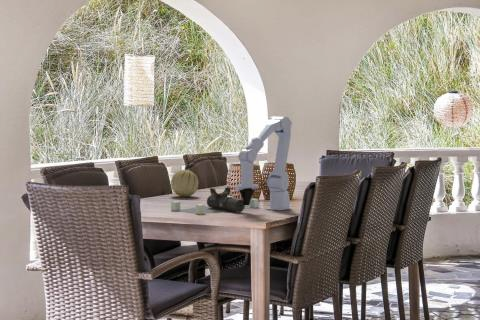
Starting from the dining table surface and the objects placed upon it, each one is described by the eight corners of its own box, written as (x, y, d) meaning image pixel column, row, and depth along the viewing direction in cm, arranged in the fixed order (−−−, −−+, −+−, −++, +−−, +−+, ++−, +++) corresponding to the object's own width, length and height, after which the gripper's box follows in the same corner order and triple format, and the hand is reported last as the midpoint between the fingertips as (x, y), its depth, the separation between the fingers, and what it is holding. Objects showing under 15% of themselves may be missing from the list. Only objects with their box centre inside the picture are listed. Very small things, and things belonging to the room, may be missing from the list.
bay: (229, 204, 410) (229, 195, 410) (258, 207, 397) (258, 199, 397) (171, 210, 380) (171, 201, 380) (200, 214, 368) (200, 205, 367)
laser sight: (231, 213, 372) (232, 191, 372) (202, 208, 390) (202, 187, 389) (248, 211, 378) (248, 190, 378) (218, 206, 396) (218, 186, 395)
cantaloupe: (166, 197, 436) (167, 169, 435) (176, 194, 450) (177, 167, 449) (192, 198, 432) (193, 170, 431) (202, 196, 446) (202, 168, 445)
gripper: (250, 174, 383) (250, 203, 384) (229, 175, 372) (229, 205, 373) (262, 175, 378) (261, 204, 379) (241, 176, 367) (241, 206, 368)
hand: (246, 205), depth 376 cm, fingers closed
